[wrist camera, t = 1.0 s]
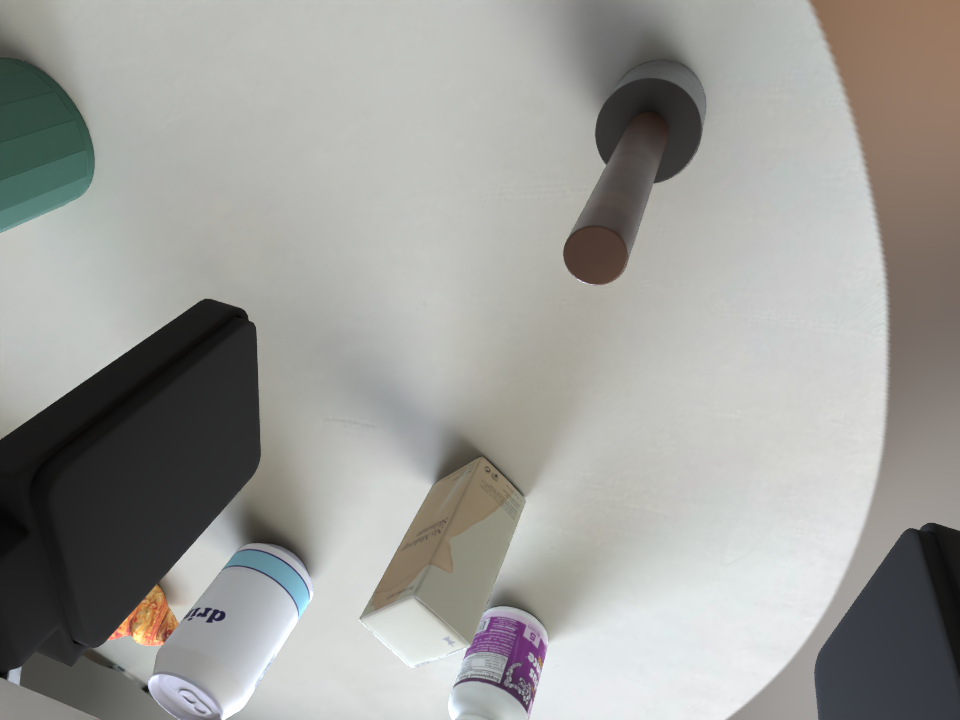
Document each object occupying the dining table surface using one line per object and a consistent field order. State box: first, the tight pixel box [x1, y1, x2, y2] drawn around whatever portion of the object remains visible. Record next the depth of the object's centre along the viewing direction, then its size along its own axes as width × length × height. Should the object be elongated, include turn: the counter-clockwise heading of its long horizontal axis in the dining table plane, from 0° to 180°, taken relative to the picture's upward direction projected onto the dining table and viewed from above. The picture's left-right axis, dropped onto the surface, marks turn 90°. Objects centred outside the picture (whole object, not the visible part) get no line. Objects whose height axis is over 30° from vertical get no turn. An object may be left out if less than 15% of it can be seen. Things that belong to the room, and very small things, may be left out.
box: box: [359, 457, 526, 668], centre depth 41 cm, size 5×4×11 cm
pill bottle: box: [449, 606, 548, 720], centre depth 47 cm, size 5×5×10 cm
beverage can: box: [148, 543, 314, 720], centre depth 51 cm, size 7×7×12 cm
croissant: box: [109, 584, 179, 646], centre depth 62 cm, size 21×10×8 cm, turn 58°
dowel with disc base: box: [563, 60, 706, 285], centre depth 24 cm, size 4×4×16 cm
